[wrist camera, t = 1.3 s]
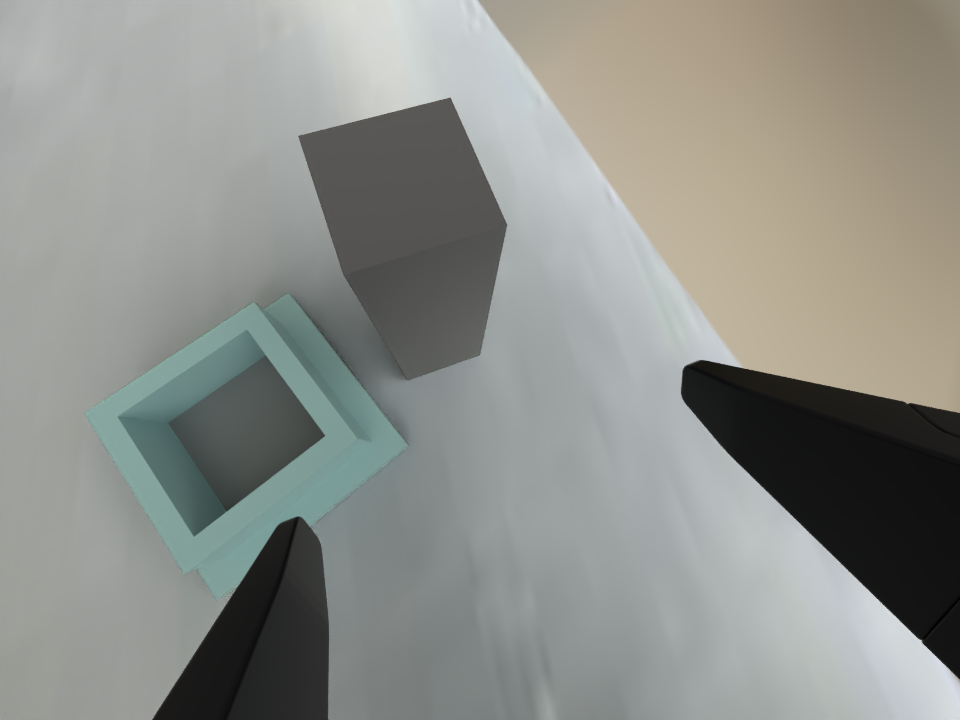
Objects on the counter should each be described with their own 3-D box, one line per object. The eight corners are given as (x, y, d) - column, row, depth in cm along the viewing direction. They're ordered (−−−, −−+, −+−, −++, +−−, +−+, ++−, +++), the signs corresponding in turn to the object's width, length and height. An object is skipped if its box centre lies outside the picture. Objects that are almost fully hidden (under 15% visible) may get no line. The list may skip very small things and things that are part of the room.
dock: (409, 446, 21) (398, 442, 17) (228, 593, 19) (170, 626, 15) (295, 299, 23) (263, 267, 19) (117, 419, 21) (40, 409, 17)
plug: (479, 355, 23) (507, 224, 10) (407, 380, 22) (343, 275, 10) (454, 289, 24) (450, 97, 11) (384, 312, 23) (298, 135, 11)
